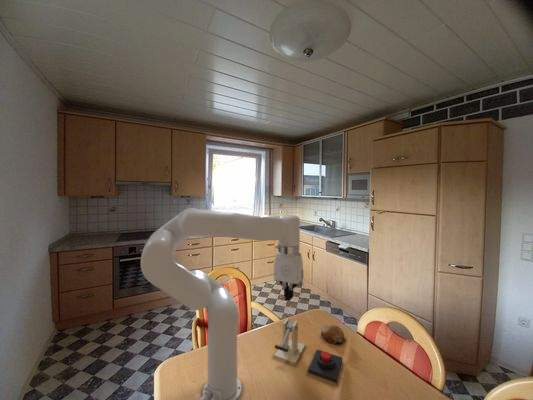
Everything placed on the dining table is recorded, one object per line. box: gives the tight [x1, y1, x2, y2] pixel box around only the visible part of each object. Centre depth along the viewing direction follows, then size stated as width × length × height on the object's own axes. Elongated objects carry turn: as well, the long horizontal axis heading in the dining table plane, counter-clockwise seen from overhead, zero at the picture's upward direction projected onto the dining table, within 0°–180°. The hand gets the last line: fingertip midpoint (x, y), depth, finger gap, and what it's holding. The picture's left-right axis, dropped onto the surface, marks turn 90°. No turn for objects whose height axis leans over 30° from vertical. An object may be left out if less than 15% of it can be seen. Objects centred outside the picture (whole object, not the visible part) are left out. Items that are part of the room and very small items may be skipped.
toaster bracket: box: [273, 317, 306, 364], centre depth 94 cm, size 12×9×13 cm
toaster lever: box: [274, 320, 295, 352], centre depth 90 cm, size 12×5×2 cm, turn 153°
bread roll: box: [320, 323, 345, 346], centre depth 104 cm, size 10×10×8 cm
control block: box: [307, 349, 343, 386], centre depth 86 cm, size 12×10×4 cm
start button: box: [321, 351, 331, 363], centre depth 86 cm, size 4×4×2 cm
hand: (288, 299), depth 84 cm, fingers closed
